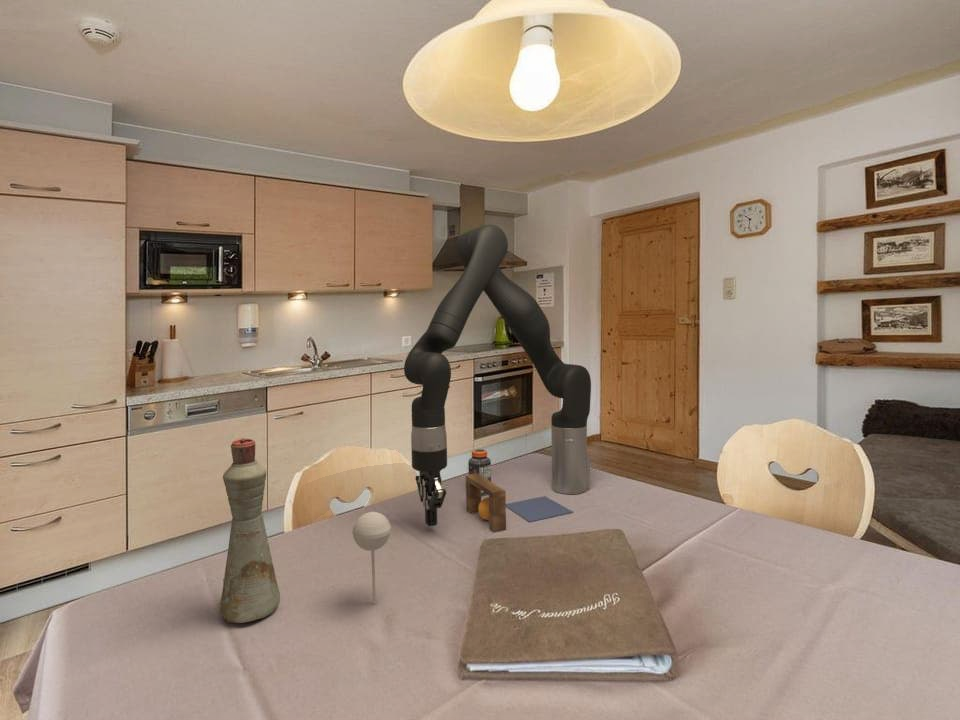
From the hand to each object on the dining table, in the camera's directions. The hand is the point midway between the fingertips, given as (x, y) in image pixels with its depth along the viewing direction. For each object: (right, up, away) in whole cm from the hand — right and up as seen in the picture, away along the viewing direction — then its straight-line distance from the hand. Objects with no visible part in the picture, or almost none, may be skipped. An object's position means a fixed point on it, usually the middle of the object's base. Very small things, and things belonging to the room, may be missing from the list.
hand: (431, 524), depth 109 cm
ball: (+13, +2, +6) cm, 14 cm away
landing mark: (+24, 0, +12) cm, 27 cm away
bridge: (+12, -1, +6) cm, 13 cm away
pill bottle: (+11, 0, +24) cm, 26 cm away
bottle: (-26, -5, -29) cm, 39 cm away
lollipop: (-7, -4, -27) cm, 28 cm away
